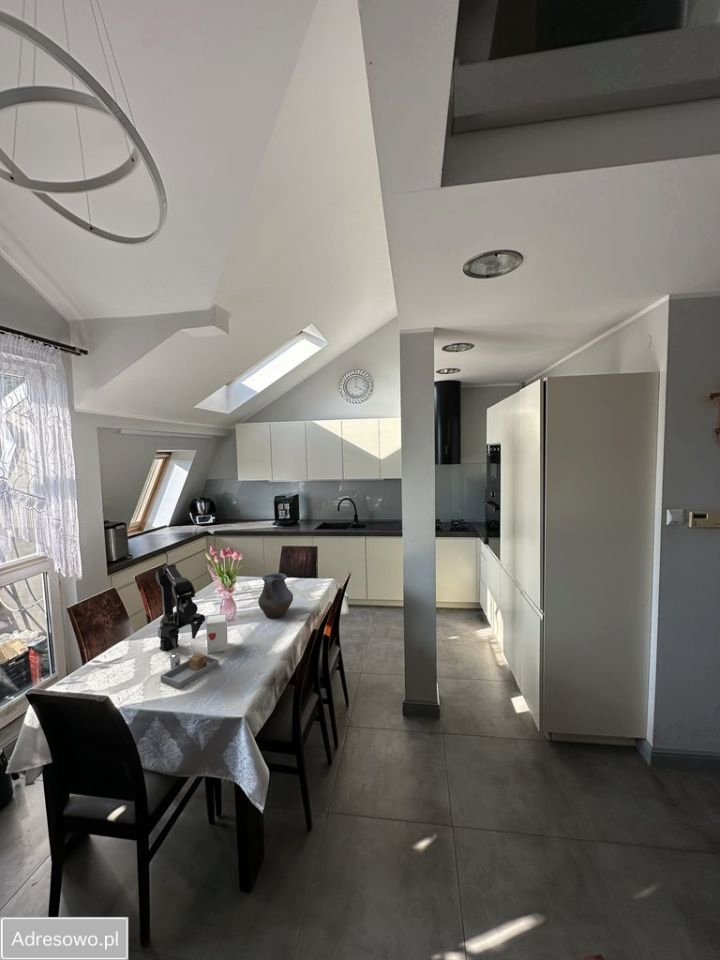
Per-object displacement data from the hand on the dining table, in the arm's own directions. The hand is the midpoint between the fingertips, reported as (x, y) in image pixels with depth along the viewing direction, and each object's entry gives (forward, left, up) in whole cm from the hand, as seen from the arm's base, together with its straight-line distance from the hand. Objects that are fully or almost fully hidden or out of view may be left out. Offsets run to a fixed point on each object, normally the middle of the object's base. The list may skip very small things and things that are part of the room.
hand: (184, 643), depth 173 cm
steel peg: (+2, -4, -11) cm, 12 cm away
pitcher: (-62, -1, -12) cm, 63 cm away
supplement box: (-19, -1, -12) cm, 22 cm away
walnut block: (-2, +6, -11) cm, 12 cm away
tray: (+2, +6, -11) cm, 13 cm away
